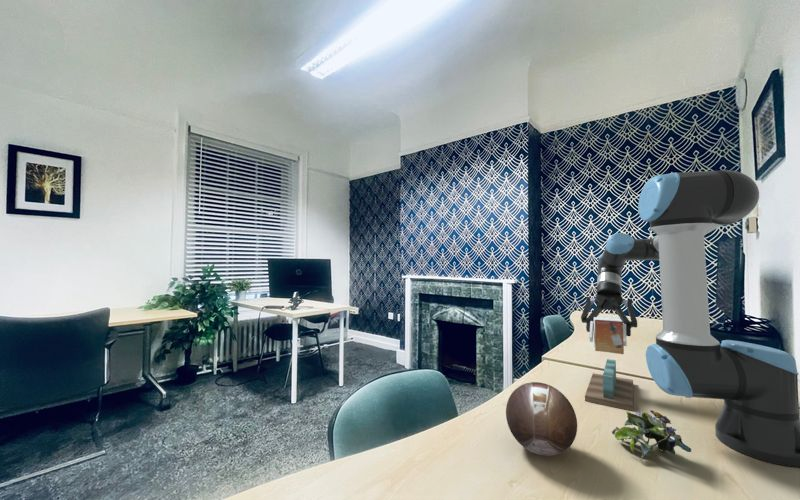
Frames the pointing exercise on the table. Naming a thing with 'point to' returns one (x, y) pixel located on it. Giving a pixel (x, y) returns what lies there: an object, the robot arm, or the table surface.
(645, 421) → the green leafy plant
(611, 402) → the ridge stand
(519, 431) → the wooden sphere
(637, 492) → the table surface
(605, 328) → the small box
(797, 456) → the robot arm
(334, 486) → the table surface
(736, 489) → the table surface
